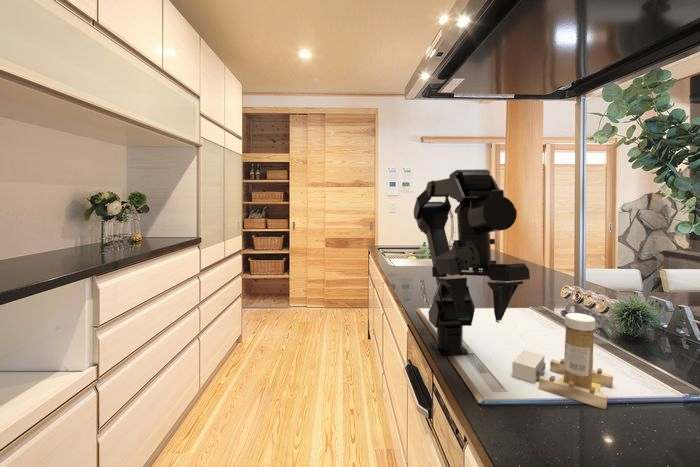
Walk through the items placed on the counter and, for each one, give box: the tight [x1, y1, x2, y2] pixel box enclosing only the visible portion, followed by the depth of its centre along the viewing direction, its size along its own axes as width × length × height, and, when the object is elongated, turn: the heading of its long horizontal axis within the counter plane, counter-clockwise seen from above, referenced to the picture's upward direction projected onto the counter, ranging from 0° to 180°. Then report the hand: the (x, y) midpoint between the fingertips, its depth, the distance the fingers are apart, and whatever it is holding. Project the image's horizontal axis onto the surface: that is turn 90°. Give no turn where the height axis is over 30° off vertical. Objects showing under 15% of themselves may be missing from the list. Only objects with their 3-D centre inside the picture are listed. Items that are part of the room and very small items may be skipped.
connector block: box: [511, 349, 546, 384], centre depth 69 cm, size 4×7×3 cm, turn 138°
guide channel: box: [538, 358, 614, 410], centre depth 64 cm, size 10×10×3 cm
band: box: [559, 374, 602, 393], centre depth 64 cm, size 6×7×1 cm
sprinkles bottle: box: [563, 312, 597, 390], centre depth 63 cm, size 5×5×13 cm
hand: (478, 316), depth 65 cm, fingers open, 9 cm apart
